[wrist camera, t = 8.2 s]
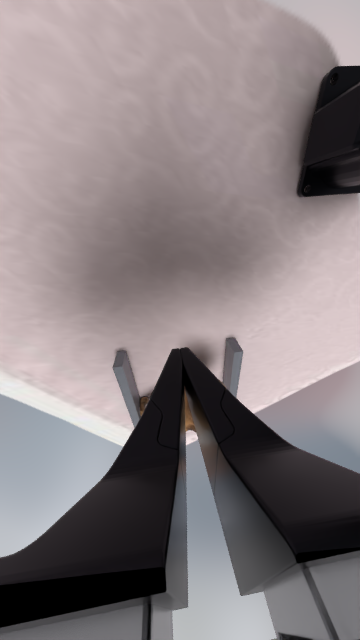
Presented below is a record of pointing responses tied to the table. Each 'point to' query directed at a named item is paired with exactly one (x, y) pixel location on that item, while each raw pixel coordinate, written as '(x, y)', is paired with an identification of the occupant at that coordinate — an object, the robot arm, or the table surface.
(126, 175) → the table surface
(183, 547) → the robot arm
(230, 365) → the chassis bay
